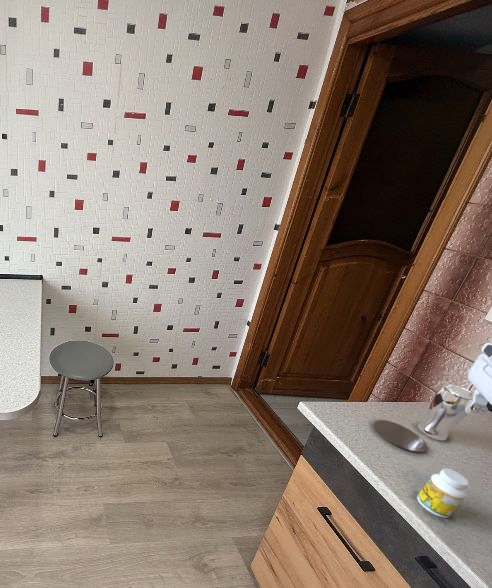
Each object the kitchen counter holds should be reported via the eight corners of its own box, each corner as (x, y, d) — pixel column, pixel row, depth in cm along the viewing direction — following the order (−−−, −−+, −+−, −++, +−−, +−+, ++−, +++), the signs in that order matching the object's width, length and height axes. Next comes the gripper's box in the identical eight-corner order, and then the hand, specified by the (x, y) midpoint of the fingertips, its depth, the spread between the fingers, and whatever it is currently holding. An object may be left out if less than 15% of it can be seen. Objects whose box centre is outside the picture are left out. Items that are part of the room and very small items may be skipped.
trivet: (417, 432, 94) (418, 430, 94) (432, 460, 85) (433, 458, 85) (369, 416, 99) (370, 414, 99) (379, 441, 90) (380, 439, 90)
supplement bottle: (454, 523, 70) (480, 493, 66) (422, 511, 72) (446, 481, 68) (441, 501, 75) (465, 471, 71) (411, 490, 77) (433, 461, 73)
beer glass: (426, 438, 92) (455, 396, 86) (409, 420, 99) (435, 380, 92) (455, 445, 91) (487, 402, 85) (436, 426, 97) (465, 386, 91)
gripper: (607, 411, 50) (546, 473, 56) (523, 349, 67) (482, 402, 72) (547, 394, 52) (494, 456, 58) (480, 339, 69) (444, 391, 75)
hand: (487, 425), depth 65 cm, fingers open, 8 cm apart
